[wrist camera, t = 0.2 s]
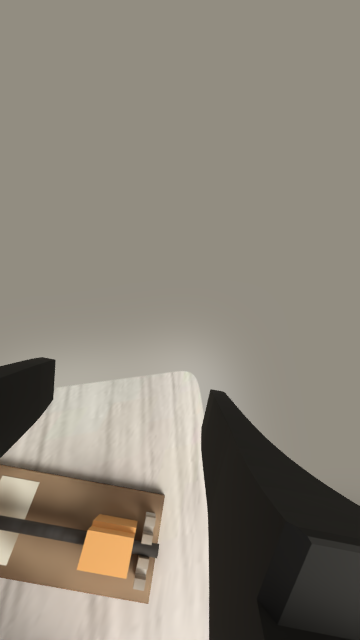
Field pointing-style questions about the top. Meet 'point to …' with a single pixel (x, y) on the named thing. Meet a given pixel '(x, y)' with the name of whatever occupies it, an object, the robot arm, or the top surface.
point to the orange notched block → (108, 546)
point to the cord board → (72, 531)
